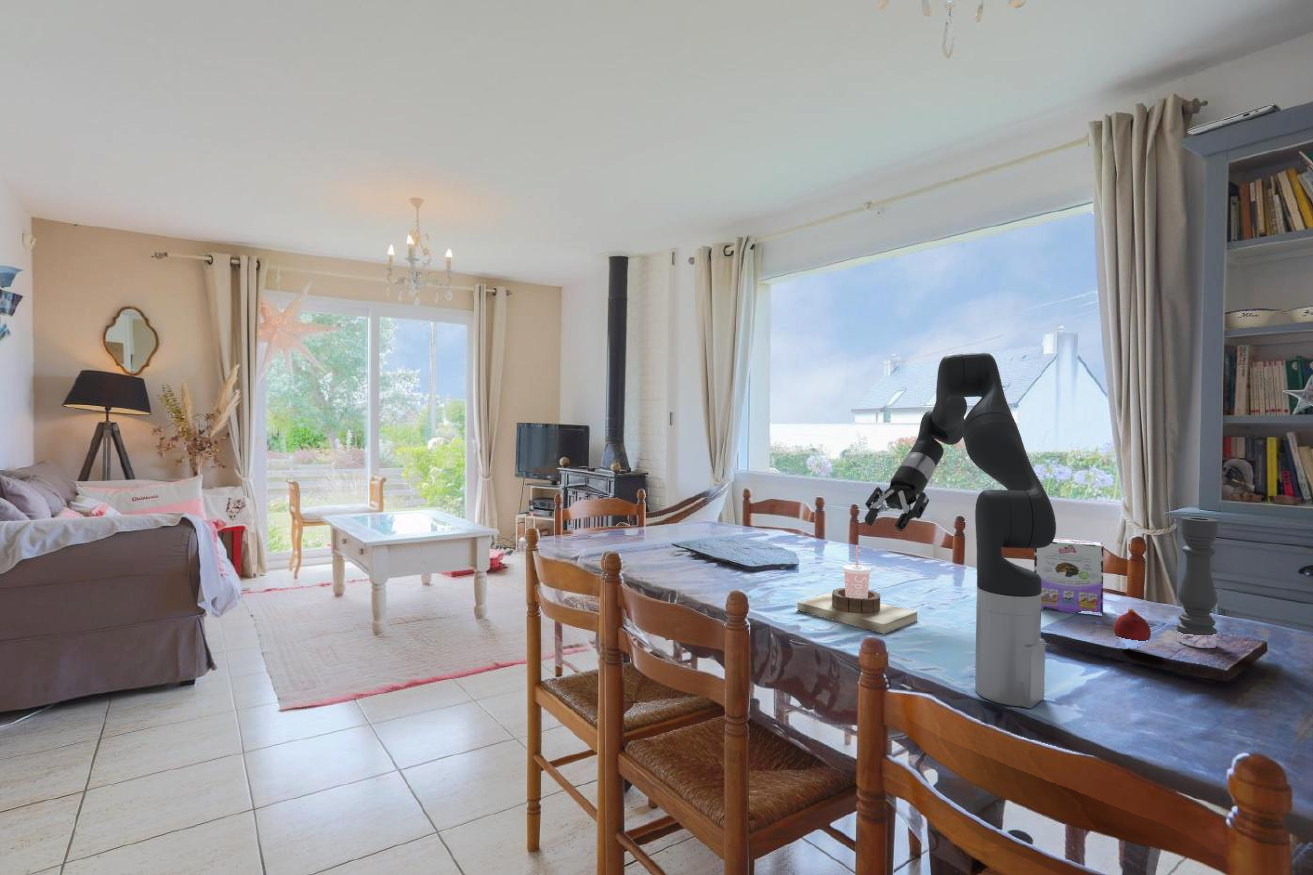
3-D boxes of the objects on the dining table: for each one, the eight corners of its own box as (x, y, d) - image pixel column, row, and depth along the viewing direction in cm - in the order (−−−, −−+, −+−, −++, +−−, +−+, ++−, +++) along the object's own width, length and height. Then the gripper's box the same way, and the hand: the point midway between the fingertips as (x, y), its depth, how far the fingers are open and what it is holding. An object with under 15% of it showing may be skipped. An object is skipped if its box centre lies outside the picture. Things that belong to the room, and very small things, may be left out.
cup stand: (917, 620, 146) (917, 598, 146) (884, 634, 137) (884, 610, 137) (832, 600, 163) (832, 579, 163) (797, 610, 154) (797, 589, 154)
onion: (1152, 649, 128) (1153, 608, 128) (1147, 657, 124) (1148, 614, 124) (1116, 642, 132) (1116, 602, 132) (1110, 649, 128) (1111, 608, 128)
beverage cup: (841, 608, 148) (842, 546, 148) (843, 601, 154) (844, 542, 154) (870, 611, 146) (871, 548, 146) (870, 604, 152) (871, 543, 152)
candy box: (1102, 611, 154) (1103, 541, 154) (1103, 617, 149) (1104, 545, 149) (1034, 602, 161) (1035, 535, 161) (1032, 608, 156) (1034, 539, 156)
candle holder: (1224, 649, 128) (1227, 521, 128) (1187, 647, 129) (1190, 520, 129) (1204, 639, 134) (1207, 517, 134) (1169, 637, 136) (1172, 516, 135)
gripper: (881, 462, 165) (850, 512, 159) (933, 466, 153) (901, 519, 147) (895, 482, 168) (864, 531, 162) (946, 487, 156) (915, 541, 150)
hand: (882, 526), depth 155 cm, fingers open, 8 cm apart
